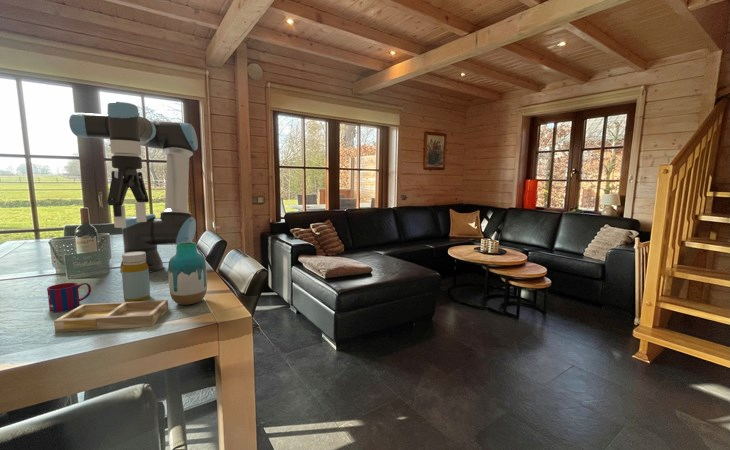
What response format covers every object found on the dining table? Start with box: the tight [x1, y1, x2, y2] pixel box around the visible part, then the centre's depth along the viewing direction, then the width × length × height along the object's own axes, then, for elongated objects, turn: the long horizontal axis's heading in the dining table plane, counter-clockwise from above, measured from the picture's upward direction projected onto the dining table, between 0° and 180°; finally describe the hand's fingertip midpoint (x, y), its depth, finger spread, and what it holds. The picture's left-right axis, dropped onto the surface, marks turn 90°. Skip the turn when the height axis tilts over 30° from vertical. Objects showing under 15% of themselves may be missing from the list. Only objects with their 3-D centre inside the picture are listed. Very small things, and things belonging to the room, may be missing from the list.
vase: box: [167, 241, 208, 306], centre depth 103 cm, size 11×11×19 cm
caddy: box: [53, 299, 169, 333], centre depth 91 cm, size 12×22×3 cm, turn 102°
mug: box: [46, 282, 92, 313], centre depth 100 cm, size 7×10×7 cm
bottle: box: [121, 252, 151, 302], centre depth 106 cm, size 7×7×15 cm
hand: (131, 224), depth 104 cm, fingers open, 13 cm apart
